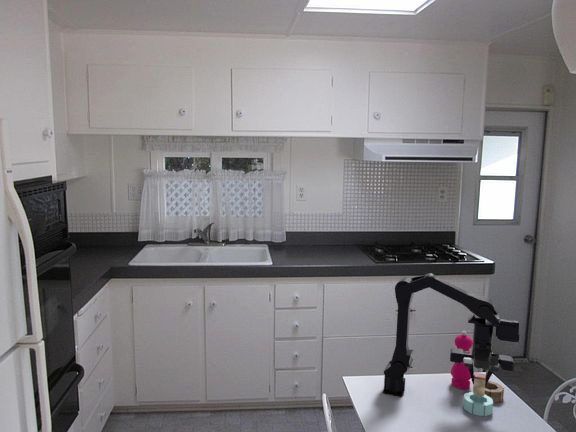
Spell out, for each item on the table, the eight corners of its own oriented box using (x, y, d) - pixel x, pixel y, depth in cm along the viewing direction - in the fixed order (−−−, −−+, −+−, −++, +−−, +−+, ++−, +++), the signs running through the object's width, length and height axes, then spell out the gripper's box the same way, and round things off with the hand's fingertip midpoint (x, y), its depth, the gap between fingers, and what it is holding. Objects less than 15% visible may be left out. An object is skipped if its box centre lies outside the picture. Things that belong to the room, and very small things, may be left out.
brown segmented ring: (482, 402, 157) (483, 392, 157) (470, 389, 166) (471, 380, 166) (507, 402, 158) (508, 392, 157) (494, 389, 166) (495, 380, 166)
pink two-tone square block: (473, 394, 151) (474, 376, 151) (473, 389, 154) (474, 372, 154) (484, 396, 150) (485, 378, 150) (483, 391, 153) (485, 374, 153)
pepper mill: (473, 390, 165) (476, 335, 163) (451, 388, 167) (455, 333, 165) (469, 381, 172) (473, 328, 170) (448, 379, 174) (452, 326, 172)
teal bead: (463, 412, 150) (464, 402, 150) (463, 400, 158) (463, 390, 158) (493, 418, 147) (493, 407, 147) (491, 405, 156) (491, 395, 155)
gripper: (451, 342, 146) (448, 390, 147) (518, 351, 140) (514, 401, 141) (451, 330, 156) (448, 375, 158) (513, 338, 150) (509, 385, 152)
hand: (479, 384), depth 152 cm, fingers closed on pink two-tone square block, 3 cm apart
